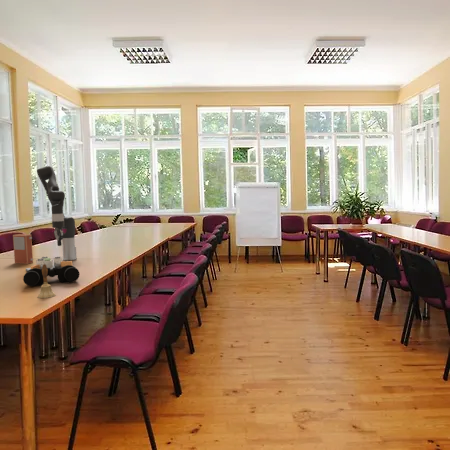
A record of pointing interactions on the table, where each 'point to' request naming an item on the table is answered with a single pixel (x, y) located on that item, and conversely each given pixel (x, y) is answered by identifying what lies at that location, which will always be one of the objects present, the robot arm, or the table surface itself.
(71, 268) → the binoculars
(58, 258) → the knob
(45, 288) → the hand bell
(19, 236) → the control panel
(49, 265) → the levelling plate
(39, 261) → the knob
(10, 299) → the table surface
